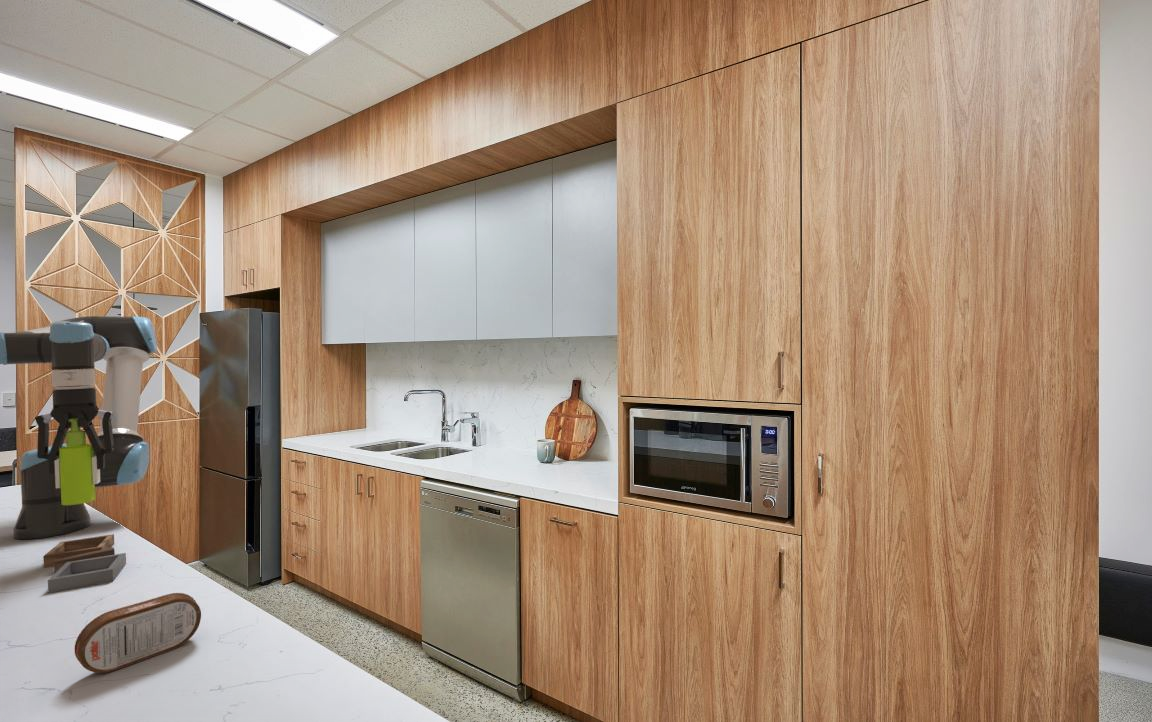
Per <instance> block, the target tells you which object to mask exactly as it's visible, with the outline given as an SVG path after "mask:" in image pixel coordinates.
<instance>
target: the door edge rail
mask: <svg viewBox="0 0 1152 722" xmlns="http://www.w3.org/2000/svg"><path fill="white" fill-rule="evenodd" d="M115 554H116V553H115V548H114V547H113V546H112V547H111V548H108V549H103V550H98V551H93V552H89V553H84V554H79V555H75V556H70V557H65V558H61V559H56V560H54V566H53V573H54V574H55V573H56V572H57V571H58V570H59V569H60V568H61V567H62V566H63V565H64V564H65V563H66V562H71V561H77V560H84V559H90V558H96V557H103V556H109V555H115ZM54 574H53V575H54Z"/></svg>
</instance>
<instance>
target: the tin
mask: <svg viewBox="0 0 1152 722" xmlns="http://www.w3.org/2000/svg"><path fill="white" fill-rule="evenodd" d="M201 620H202V610H201V608H200V605H199V604H198V603H197V601H196V600H195V598H194V597H193V596H191V595H189V594H187V593H184V592H174V593H173V592H172V593H167V594H163V595H161V596H158V597H155V598H151V599H147V600H143V601H141V602H138V603H137V602H136V603H133V604H129V605H126V606H123V607H119V608H115V609H111V610H108V611H107V612H104V613H102V614H100V615H98V616H97V617H95V618H93V619H92V620H91V621H89V623H88V624H86V626H84V627H83V628H82V630H81V631H80V633H79V634H78V636H77V637H76V640H75V644H74V656H75V657H76V659H77V661H78V662H79V664H81V666H82V667H83V668H84V669H86V670H87V671H89V672H93V673H98V674H105V673H111V672H115V671H117V670H121V669H122V668H127V667H129V666H131V665H134V664H137V663H139V662H143V661H146V660H148V659H151V658H155V657H156V656H159V655H162V654H164V653H168V652H170V651H173V650H176V649H178V648H180V647H181V646H183V645H184V644H186V643H187V642H188V641H189V640H190V639H191V638H192V637H193V636H194V635H195V633H196V632H197V630H198V628H199V627H200V624H201Z"/></svg>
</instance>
